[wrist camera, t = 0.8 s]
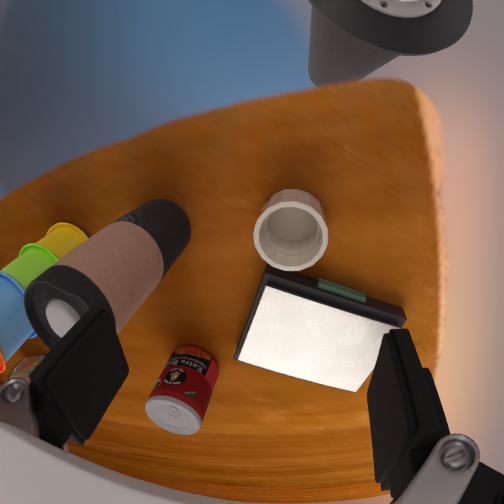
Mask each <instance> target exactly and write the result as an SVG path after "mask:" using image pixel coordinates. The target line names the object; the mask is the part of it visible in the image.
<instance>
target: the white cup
mask: <svg viewBox="0 0 504 504" xmlns="http://www.w3.org/2000/svg"><path fill="white" fill-rule="evenodd" d="M253 234H254V243H255V247H256V249H257V250H258V252H259V254H260V256H261V257H262V258H263V259H264V260H265V261H266V262H267V263H269V264H270V265H271V266H273V267H275V268H278V269H281V270H284V271H300V270H303V269H305V268H308V267H310V266H312V265H314V264H315V263H316V262H317V261H318V260H319V259H320V258H321V257H322V256H323V254H324V252H325V249H326V247H327V245H328V228H327V222H326V217H325V212H324V210H323V208H322V206H321V204H320V202H319V201H318V200H317V199H316V198H315V197H314V196H312V195H311V194H309V193H308V192H305V191H302V190H299V189H285V190H282V191H280V192H278V193H276V194H274V195H272V196H271V197H270V198H269V199H268V201H267V202H266V203H265V204H264V206H263V208H262V210H261V213H260V215H259V217H258V219H257V222H256V225H255V228H254V231H253Z"/></svg>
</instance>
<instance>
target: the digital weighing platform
mask: <svg viewBox="0 0 504 504" xmlns="http://www.w3.org/2000/svg"><path fill="white" fill-rule="evenodd" d="M390 329H401V327H400V326H399V325H396V324H393V323H390V322H386V321H383V320H380V319H377V318H373V317H370V316H367V315H364V314H361V313H357V312H354V311H351V310H348V309H345V308H342V307H338V306H335V305H332V304H329V303H326V302H323V301H320V300H317V299H314V298H310V297H307V296H304V295H301V294H298V293H295V292H292V291H289V290H286V289H283V288H280V287H277V286H274V285H271V284H268V283H266V285H265V288H264V291H263V293H262V296H261V299H260V301H259V304H258V307H257V309H256V312H255V315H254V317H253V320H252V323H251V325H250V328H249V331H248V333H247V336H246V338H245V341H244V344H243V346H242V349H241V351H240V354H239V357H238V360H240V361H243V362H246V363H249V364H253V365H256V366H259V367H262V368H266V369H269V370H272V371H276V372H279V373H282V374H286V375H290V376H293V377H297V378H300V379H304V380H308V381H312V382H316V383H319V384H323V385H327V386H331V387H336V388H340V389H344V390H348V391H353V392H356V391H357V390H358V389H359V387H360V386H361V385H362V383H363V382H364V381H365V379H366V378H367V377H368V375H369V374H370V373H371V371H372V370H373V369H374V367H375V364H376V360H377V357H378V353H379V349H380V345H381V341H382V338H383V335H384V334H385V333H389V330H390Z"/></svg>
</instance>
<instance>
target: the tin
mask: <svg viewBox="0 0 504 504" xmlns="http://www.w3.org/2000/svg"><path fill="white" fill-rule="evenodd" d="M44 357H45V355H37V356H28V357H25V358H23V359H22V360H20V361H19V362H18V363H17V364H16V365H15V366H14V367H13V369H12V370H11V371H10V373H9V376H8V379H12V378H16V377H19V378H23V379H25V380H26V381H27V382H28V384H30V382H31V380H30V378H29V377H28V375H29V374H30V373H31V372H32V371H33V370H34V368H35V367H36V366H37V365H38V364H39V363H40V362H41V360H42V359H43V358H44Z"/></svg>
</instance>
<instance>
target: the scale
mask: <svg viewBox="0 0 504 504" xmlns="http://www.w3.org/2000/svg"><path fill="white" fill-rule="evenodd" d="M266 283H268V284H271V285H274V286H277V287H280V288H283V289H286V290H289V291H292V292H295V293H298V294H301V295H304V296H307V297H310V298H314V299H317V300H320V301H323V302H326V303H329V304H332V305H335V306H338V307H342V308H345V309H348V310H351V311H354V312H357V313H361V314H364V315H367V316H370V317H373V318H377V319H380V320H383V321H386V322H390V323H393V324H396V325H399V326H400V327H402V326H403V324H404V323H405V321H406V320H407V318H406V315H405V313H404V310H403V308H401V307H398V306H395V305H392V304H389V303H386V302H383V301H380V300H377V299H374V298H371V297H368V296H365V293H364V292H361V291H358V290H355V289H352V288H349V287H346V286H343V285H340V284H337V283H334V282H331V281H328V280H325V279H322V278H318V280H317V279H314V278H311V277H308V276H305V275H302V274H299V273H296V272H293V271H284V270H281V269H278V268H275V267H273V266H271V265H270V264H269V263H268V264H267V266H266V269H265V272H264V275H263V277H262V280H261V283H260V286H259V288H258V291H257V294H256V297H255V300H254V302H253V305H252V308H251V311H250V313H249V316H248V319H247V321H246V324H245V327H244V330H243V332H242V335H241V338H240V340H239V343H238V346H237V349H236V352H235V355H234V359H235V360H238V357H239V354H240V351H241V349H242V346H243V344H244V341H245V338H246V336H247V333H248V331H249V328H250V325H251V323H252V320H253V317H254V315H255V312H256V309H257V307H258V304H259V301H260V299H261V296H262V293H263V291H264V288H265V285H266ZM238 361H240V360H238ZM241 362H243V361H241ZM244 363H246V362H244ZM247 364H249V363H247ZM250 365H253V364H250ZM254 366H256V365H254ZM257 367H259V366H257ZM260 368H262V367H260ZM263 369H266V368H263ZM267 370H269V369H267ZM270 371H272V370H270ZM273 372H276V371H273ZM277 373H279V372H277ZM280 374H282V373H280ZM284 375H286V374H284ZM287 376H290V375H287ZM291 377H293V376H291ZM294 378H297V377H294ZM298 379H300V378H298ZM302 380H304V379H302ZM306 381H308V380H306ZM309 382H312V381H309ZM313 383H316V382H313ZM317 384H319V383H317ZM321 385H323V384H321ZM325 386H327V385H325ZM329 387H331V386H329ZM333 388H336V387H333ZM337 389H340V388H337ZM342 390H344V389H342ZM346 391H348V390H346ZM350 392H353V391H350Z"/></svg>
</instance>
